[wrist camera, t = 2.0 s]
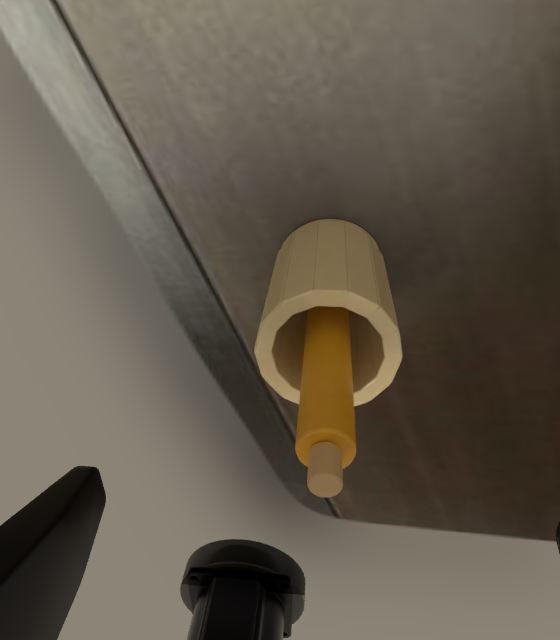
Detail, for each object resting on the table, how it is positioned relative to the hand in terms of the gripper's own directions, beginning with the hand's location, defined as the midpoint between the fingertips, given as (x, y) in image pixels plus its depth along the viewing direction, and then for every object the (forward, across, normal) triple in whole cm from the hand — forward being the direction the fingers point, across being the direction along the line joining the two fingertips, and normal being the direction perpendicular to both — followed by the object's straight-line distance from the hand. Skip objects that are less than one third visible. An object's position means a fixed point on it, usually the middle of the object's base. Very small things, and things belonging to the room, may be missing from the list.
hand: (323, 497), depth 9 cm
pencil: (+10, 0, 0) cm, 10 cm away
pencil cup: (+10, 0, 0) cm, 10 cm away
